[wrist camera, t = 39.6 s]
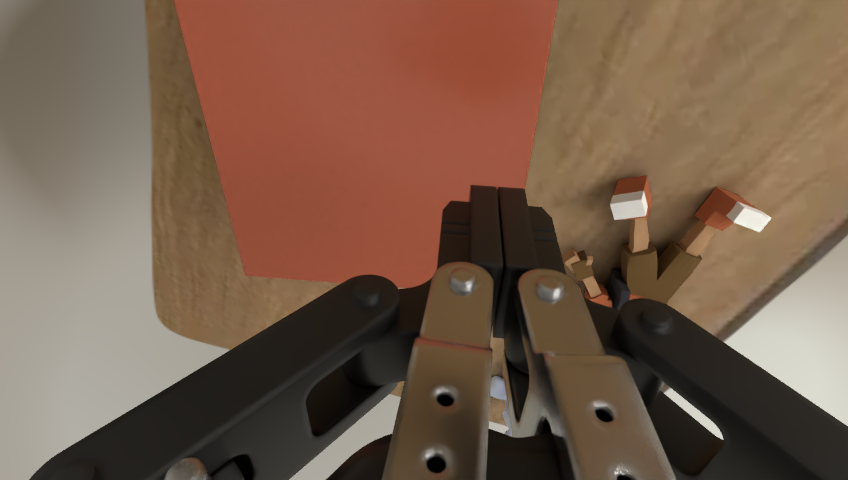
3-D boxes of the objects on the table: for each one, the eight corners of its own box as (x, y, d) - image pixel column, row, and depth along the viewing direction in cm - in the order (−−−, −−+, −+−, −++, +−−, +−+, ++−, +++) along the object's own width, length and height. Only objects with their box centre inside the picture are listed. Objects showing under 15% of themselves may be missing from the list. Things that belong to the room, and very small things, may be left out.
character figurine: (818, 236, 27) (644, 424, 35) (767, 202, 31) (623, 376, 40) (641, 167, 25) (503, 381, 34) (613, 141, 30) (497, 336, 38)
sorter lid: (505, 285, 24) (506, 296, 23) (250, 266, 24) (244, 276, 24) (565, -66, 15) (570, -65, 14) (164, -80, 16) (151, -80, 15)
